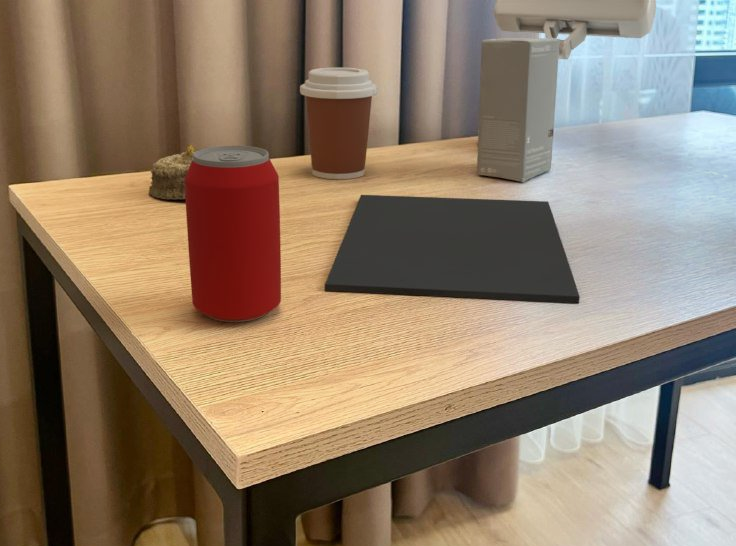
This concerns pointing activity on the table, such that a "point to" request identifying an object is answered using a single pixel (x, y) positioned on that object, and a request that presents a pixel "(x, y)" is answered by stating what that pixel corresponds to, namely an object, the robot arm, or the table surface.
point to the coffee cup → (338, 120)
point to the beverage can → (233, 232)
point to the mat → (453, 250)
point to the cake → (171, 175)
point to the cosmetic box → (517, 107)
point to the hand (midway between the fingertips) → (555, 55)
